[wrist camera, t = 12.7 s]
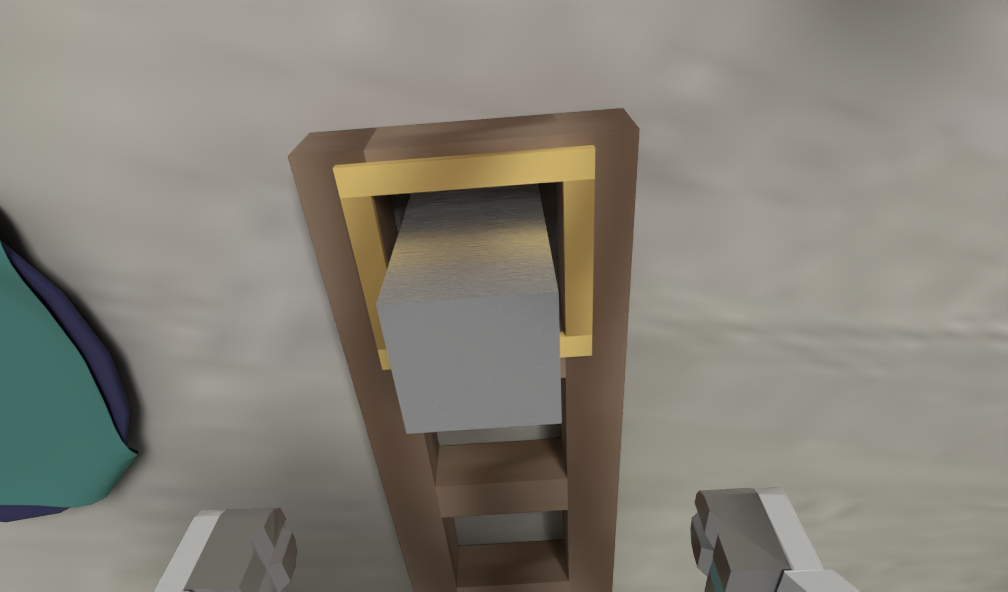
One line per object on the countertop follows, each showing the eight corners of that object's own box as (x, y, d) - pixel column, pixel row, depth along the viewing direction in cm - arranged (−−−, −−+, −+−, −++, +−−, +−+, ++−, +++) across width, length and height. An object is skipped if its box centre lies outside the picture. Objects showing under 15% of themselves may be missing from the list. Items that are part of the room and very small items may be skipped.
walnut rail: (623, 108, 19) (641, 131, 17) (604, 551, 33) (612, 597, 31) (309, 132, 20) (284, 159, 17) (422, 562, 34) (416, 609, 31)
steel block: (536, 176, 21) (558, 291, 14) (541, 282, 23) (561, 423, 16) (413, 186, 21) (376, 304, 14) (431, 290, 23) (406, 433, 16)
